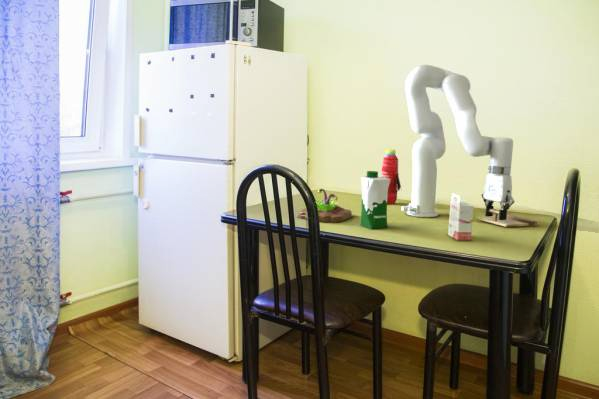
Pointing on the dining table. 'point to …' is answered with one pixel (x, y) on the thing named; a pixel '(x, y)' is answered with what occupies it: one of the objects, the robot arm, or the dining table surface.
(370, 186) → the milk carton
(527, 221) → the frame foot
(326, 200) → the plant
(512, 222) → the photo frame
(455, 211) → the ink cartridge box
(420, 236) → the dining table surface
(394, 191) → the water bottle
